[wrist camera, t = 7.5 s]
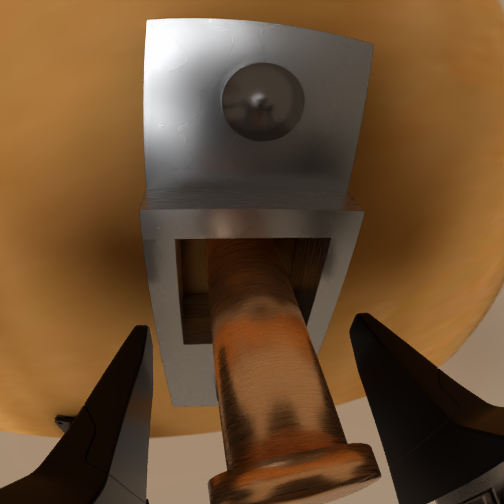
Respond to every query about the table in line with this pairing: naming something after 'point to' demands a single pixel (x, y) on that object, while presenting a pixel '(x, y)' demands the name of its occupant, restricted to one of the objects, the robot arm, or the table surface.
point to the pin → (273, 388)
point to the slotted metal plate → (246, 168)
